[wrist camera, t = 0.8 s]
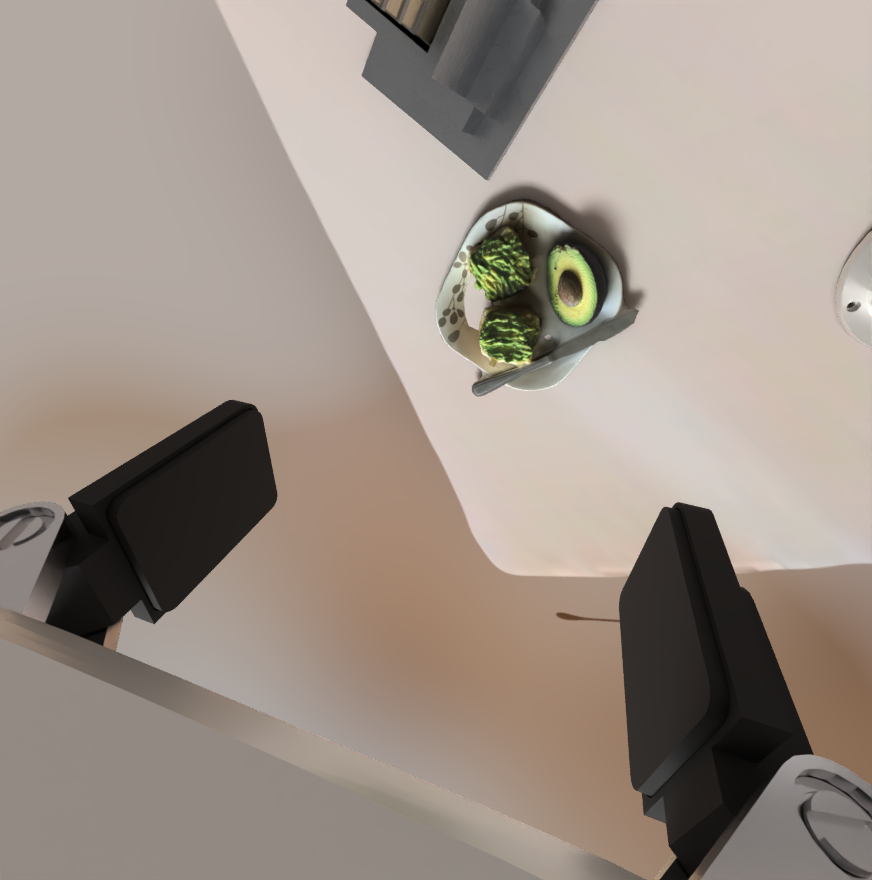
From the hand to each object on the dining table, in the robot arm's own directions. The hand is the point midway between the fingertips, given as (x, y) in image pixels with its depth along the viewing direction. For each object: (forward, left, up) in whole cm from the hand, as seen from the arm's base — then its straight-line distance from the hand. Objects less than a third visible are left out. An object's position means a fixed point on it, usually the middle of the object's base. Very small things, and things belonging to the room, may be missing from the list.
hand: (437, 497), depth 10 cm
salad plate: (+4, +3, -38) cm, 38 cm away
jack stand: (0, -18, -37) cm, 41 cm away
